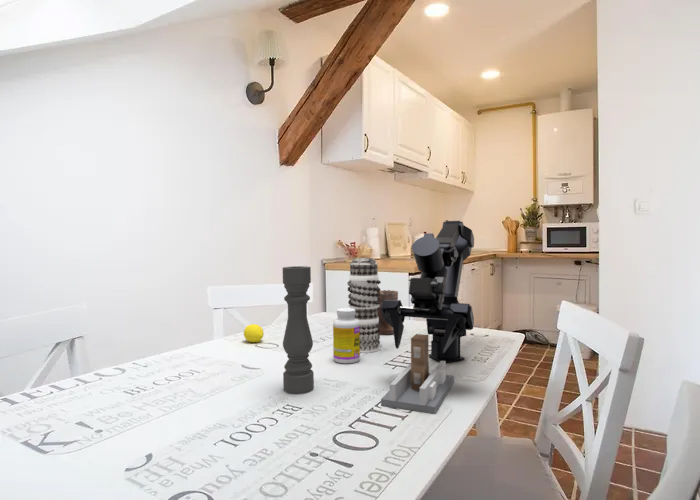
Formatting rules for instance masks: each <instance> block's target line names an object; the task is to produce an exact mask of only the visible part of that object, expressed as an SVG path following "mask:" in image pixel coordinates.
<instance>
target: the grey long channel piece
mask: <svg viewBox="0 0 700 500" xmlns="http://www.w3.org/2000/svg"><path fill="white" fill-rule="evenodd" d="M454 383H455V376H454V375H448V374H447V363H446V361H439V363H438V364H437V366H436V367H434V369H433V371H432V372H431V373H430V372H429V377H428V378H427V379H426V381H425V382H424V383H423V384H422V386H421V387H420V390H412V389H411V363H410V364H408V365H407V366H406V368H404V369H403V371H401V372H400V373H399V374H398V376H396V378H395V379H393V380H392V381H391V383H390V384H389V390H388V391H387V392H386V393H385V395H384V396H383V397H381V399H380V406H381V407H389V408H395V409H401V410H402V409H403V410H407V411H415V412H421V413H427V414H433V415H435V414H436V413H437V412H438V410H439V408H440V407H441V405H442V403H443V401H444V400H445V399H446V398H445V397H446V396H447V395H448V393H449V391H450V389H451V387H452V386H453V384H454Z"/></svg>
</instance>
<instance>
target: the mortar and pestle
mask: <svg viewBox="0 0 700 500" xmlns="http://www.w3.org/2000/svg"><path fill="white" fill-rule="evenodd" d="M377 287H378V288H380V286H379V285H378V284H377ZM378 293H379V294H380V296H379V297H377V301H379V302H380V304H379V305H380V306H381V303H382V302H383V300H399V291H398V290H390V289H387V290H386V289H385V290H381V289H380V291H379V292H378V291H377V294H378ZM380 306H379V307H378V317H379V322H378V323H379V324H380V326H379V327H378V328H379V329H380V332H379V333H378V334H379V335H380V336H381V335H383V336H384V335H386V336H387V335H394V331H393V327H391V326H390V324H388V323H386V322H385V320H384V318H383V315H382V313H381V311H380Z"/></svg>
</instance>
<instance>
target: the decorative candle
mask: <svg viewBox="0 0 700 500" xmlns="http://www.w3.org/2000/svg"><path fill="white" fill-rule="evenodd" d="M378 264H379V263H378V262H377V261H376V260H375V258H373V257H355V258H353V259H352V261H351V262H350V263H349V266H350V267H349V273H350V274H349V281H347V286H348V287H347V291H348V293H349V294H348V295H347V297H348V299H349V300H348V308H353V309H355V310H356V314H355V319H357V320H358V321H359V325H360V354H361V353H362V354H368V353H375V352H378V351H380V349H381V346H380V345H381V341H380V339H381V335H380V334H378V333H379V332H380V329H379V328H378V327H379V326H380V324H379V323H378V322H379V317H378V307H379V306H380V305H379V304H380V302H379V301H377V297H379V296H380V294H379V293H378V294H377V291H378V292H379V291H380V290H381V288H380V287H379V285H380V284H381V283H382V281H380V280H379V279H380V277H379V273H378V272H379V271H378ZM377 285H378V287H379V288H378V287H377Z"/></svg>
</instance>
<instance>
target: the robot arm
mask: <svg viewBox="0 0 700 500" xmlns="http://www.w3.org/2000/svg"><path fill="white" fill-rule="evenodd" d="M474 247H475V236H474V233H473V229H471V228H469V227H467V226H466V225H464V222H463V221H461V220H446V221H443V222H442V227H441V229H440V231H439V232H438V234H437V236H436V237H435V236H434V233H433V232H432V233H424V234H423V236H422V237H420V238H417V239H416V240H415V241H414V242H413V243H412V245H411V250H412V253H413V256H414V260H415V263H416V264H415V265H416V266H417V270H418V271H420V272H421V273H420V277H411V278H409V287H408V294H409V295H410V302H411V304H413V306H403V304H402V301H401V299H398V300H383V302H382V303H381V306H380V311H381V313H382V315H383V318H384V320H385V322H386V323H388V324H390V326H391V327H393V331H394V334H393V338H394V347H395V349H399V348H400V345H401V341H402V337H403V334H404V333H403V332H404V328H405V325H404V323H405V319H406V318H422V319H424V320H426V330H427V335H428V336H430V335H432V340H431V341H430V343H431V345H430V348H431V351H430V353H429V358H431V359H434V360H436V361H438V362H440V361H446V364H447V363H451V362H459V361H464V360H465V357H464V356H461V338H463V337H466V336H467V331H471V330H473V329H474V324H475V316H474V312H473V306H472V305H471V304H470V303H463V302H462V303H461V302H459V299H458V297H459V291H460V290H459V289H460V284H461V277H462V270H463V264H464V261H465V260H466V259H468V258H469V257H470V256H471V254H472V248H474Z"/></svg>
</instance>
